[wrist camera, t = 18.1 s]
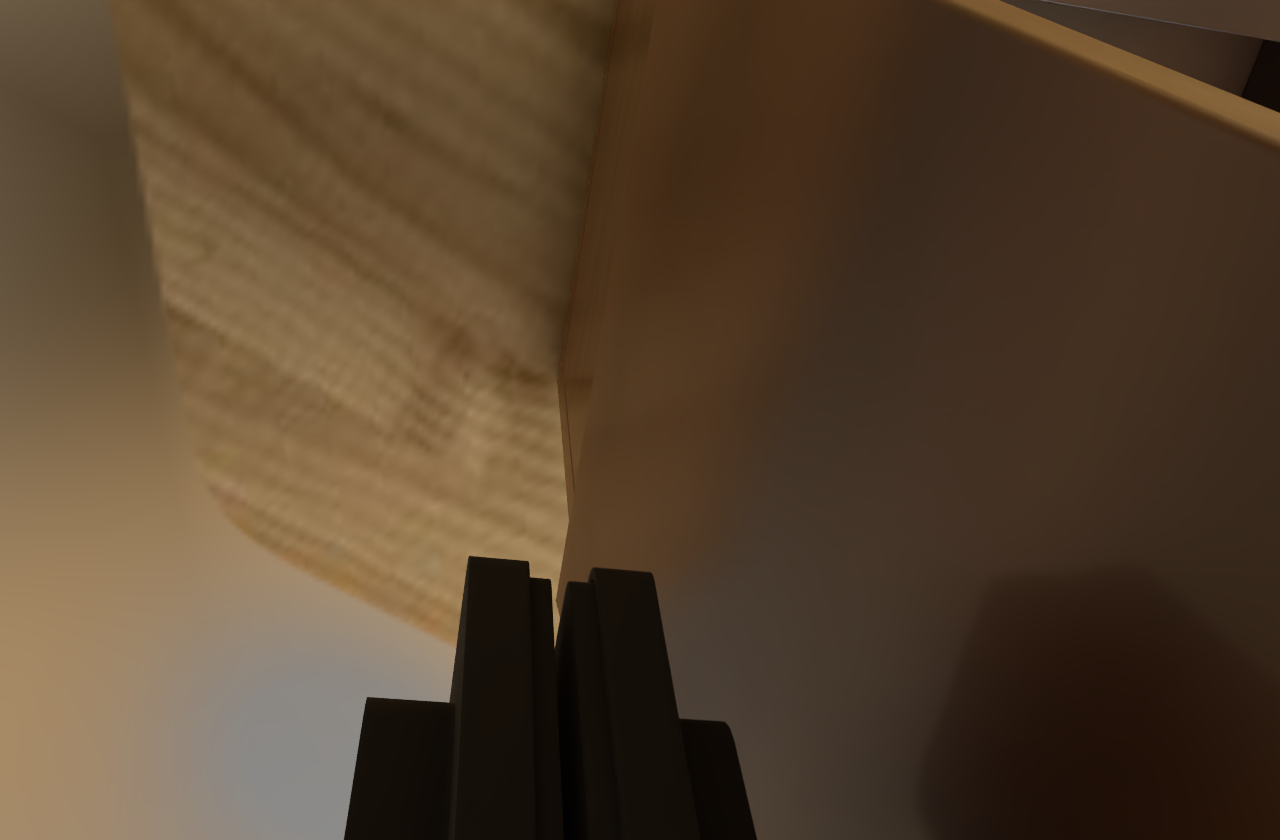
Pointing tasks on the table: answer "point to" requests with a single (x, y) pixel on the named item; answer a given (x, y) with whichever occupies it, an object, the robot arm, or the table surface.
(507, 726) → the robot arm
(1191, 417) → the lid
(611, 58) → the chest
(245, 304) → the table surface
